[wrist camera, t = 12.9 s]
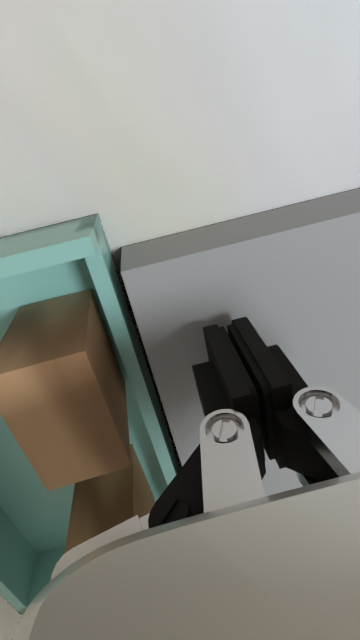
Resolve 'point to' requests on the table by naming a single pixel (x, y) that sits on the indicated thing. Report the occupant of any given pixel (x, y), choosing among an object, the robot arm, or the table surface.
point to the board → (252, 303)
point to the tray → (142, 403)
